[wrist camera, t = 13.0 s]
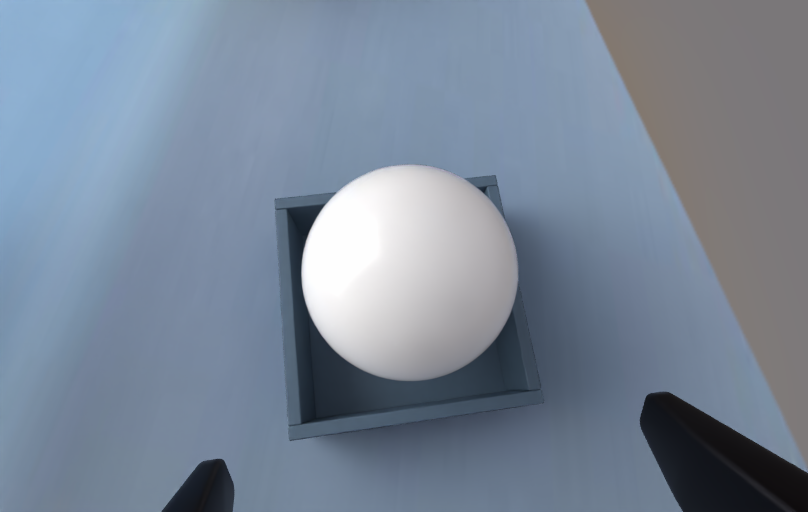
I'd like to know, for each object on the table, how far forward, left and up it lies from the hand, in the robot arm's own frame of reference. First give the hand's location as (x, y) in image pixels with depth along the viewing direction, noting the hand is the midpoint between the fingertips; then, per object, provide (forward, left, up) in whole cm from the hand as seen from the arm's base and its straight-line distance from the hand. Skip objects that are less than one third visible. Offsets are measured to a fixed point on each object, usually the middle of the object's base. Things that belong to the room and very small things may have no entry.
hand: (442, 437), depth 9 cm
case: (+4, -3, -11) cm, 12 cm away
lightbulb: (+3, -3, -11) cm, 12 cm away
